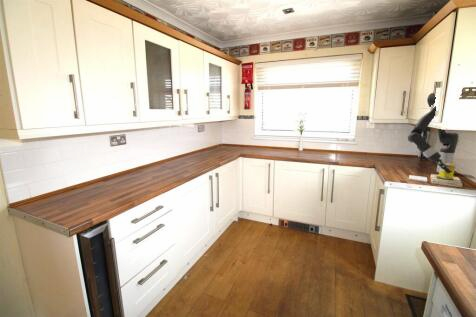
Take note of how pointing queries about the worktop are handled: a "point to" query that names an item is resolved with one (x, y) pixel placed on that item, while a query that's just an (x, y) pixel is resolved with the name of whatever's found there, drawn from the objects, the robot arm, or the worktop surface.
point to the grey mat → (418, 178)
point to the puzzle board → (446, 181)
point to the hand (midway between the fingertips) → (449, 171)
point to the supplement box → (444, 174)
